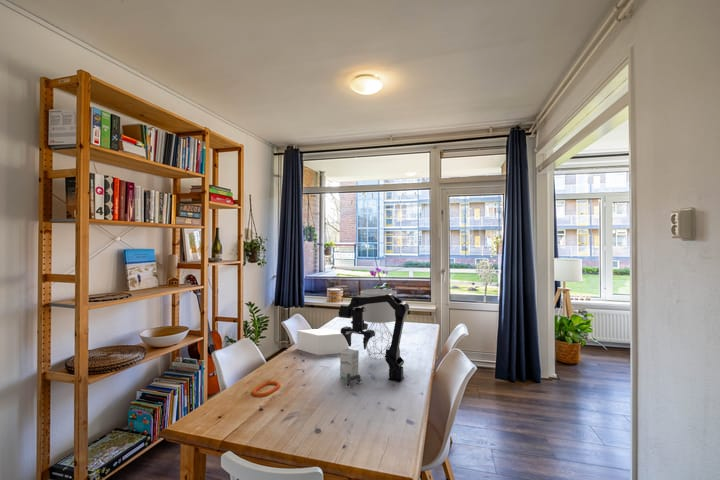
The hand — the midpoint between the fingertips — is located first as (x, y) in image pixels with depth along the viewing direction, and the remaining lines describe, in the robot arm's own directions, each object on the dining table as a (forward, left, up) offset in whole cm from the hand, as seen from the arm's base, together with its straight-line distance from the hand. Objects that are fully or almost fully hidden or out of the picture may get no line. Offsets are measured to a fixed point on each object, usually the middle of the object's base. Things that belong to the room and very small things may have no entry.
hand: (357, 347), depth 175 cm
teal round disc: (+1, +7, -13) cm, 15 cm away
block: (+37, -20, -13) cm, 44 cm away
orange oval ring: (+27, +40, -14) cm, 50 cm away
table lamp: (+1, -28, -13) cm, 31 cm away
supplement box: (+1, +7, -13) cm, 14 cm away
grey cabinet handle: (-5, +15, -13) cm, 20 cm away
